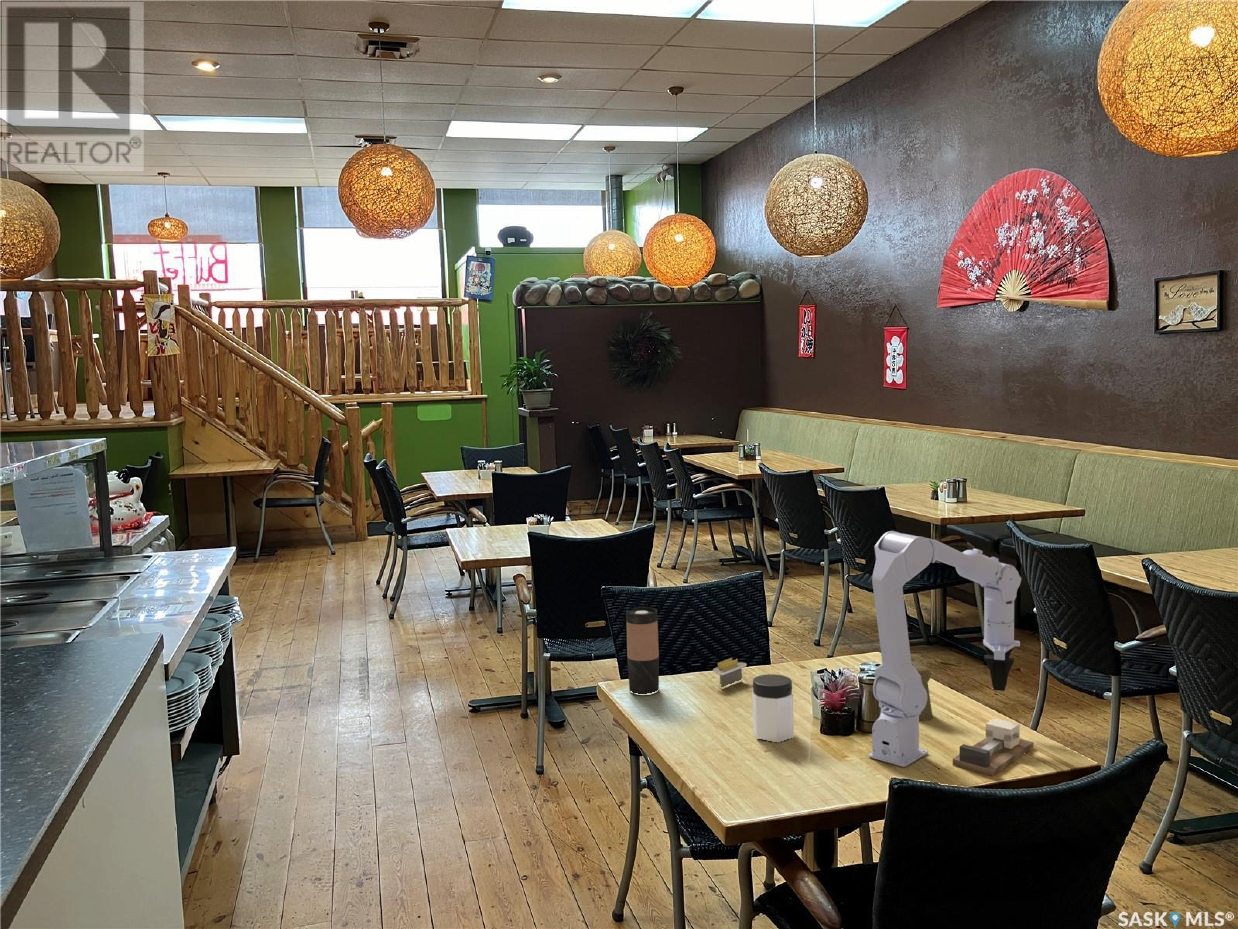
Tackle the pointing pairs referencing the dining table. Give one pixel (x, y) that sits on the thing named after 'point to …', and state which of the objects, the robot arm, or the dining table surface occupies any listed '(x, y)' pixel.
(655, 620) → the travel mug
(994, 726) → the slider
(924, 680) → the cork
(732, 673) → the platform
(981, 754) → the rail board
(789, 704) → the jar
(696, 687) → the dining table surface
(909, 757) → the robot arm
